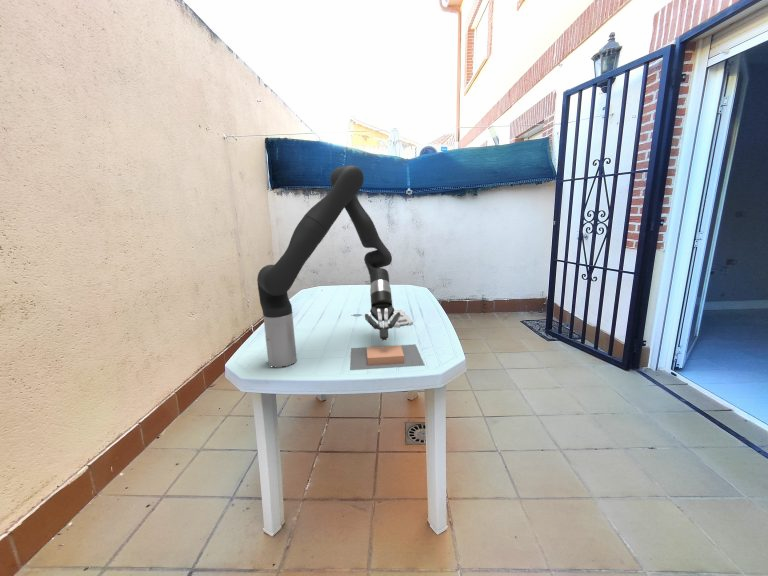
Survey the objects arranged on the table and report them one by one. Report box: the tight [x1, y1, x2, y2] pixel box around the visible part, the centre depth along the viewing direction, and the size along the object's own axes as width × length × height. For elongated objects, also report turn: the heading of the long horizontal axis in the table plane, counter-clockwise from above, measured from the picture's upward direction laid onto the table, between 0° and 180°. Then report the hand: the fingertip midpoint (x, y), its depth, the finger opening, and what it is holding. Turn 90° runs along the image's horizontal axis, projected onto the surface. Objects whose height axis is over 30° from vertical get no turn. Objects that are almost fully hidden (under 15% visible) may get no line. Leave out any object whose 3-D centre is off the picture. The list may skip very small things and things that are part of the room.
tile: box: [367, 344, 404, 365], centre depth 116 cm, size 12×2×9 cm
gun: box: [389, 309, 414, 328], centre depth 156 cm, size 18×3×10 cm
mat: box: [349, 344, 425, 371], centre depth 118 cm, size 24×18×1 cm
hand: (384, 339), depth 114 cm, fingers closed
